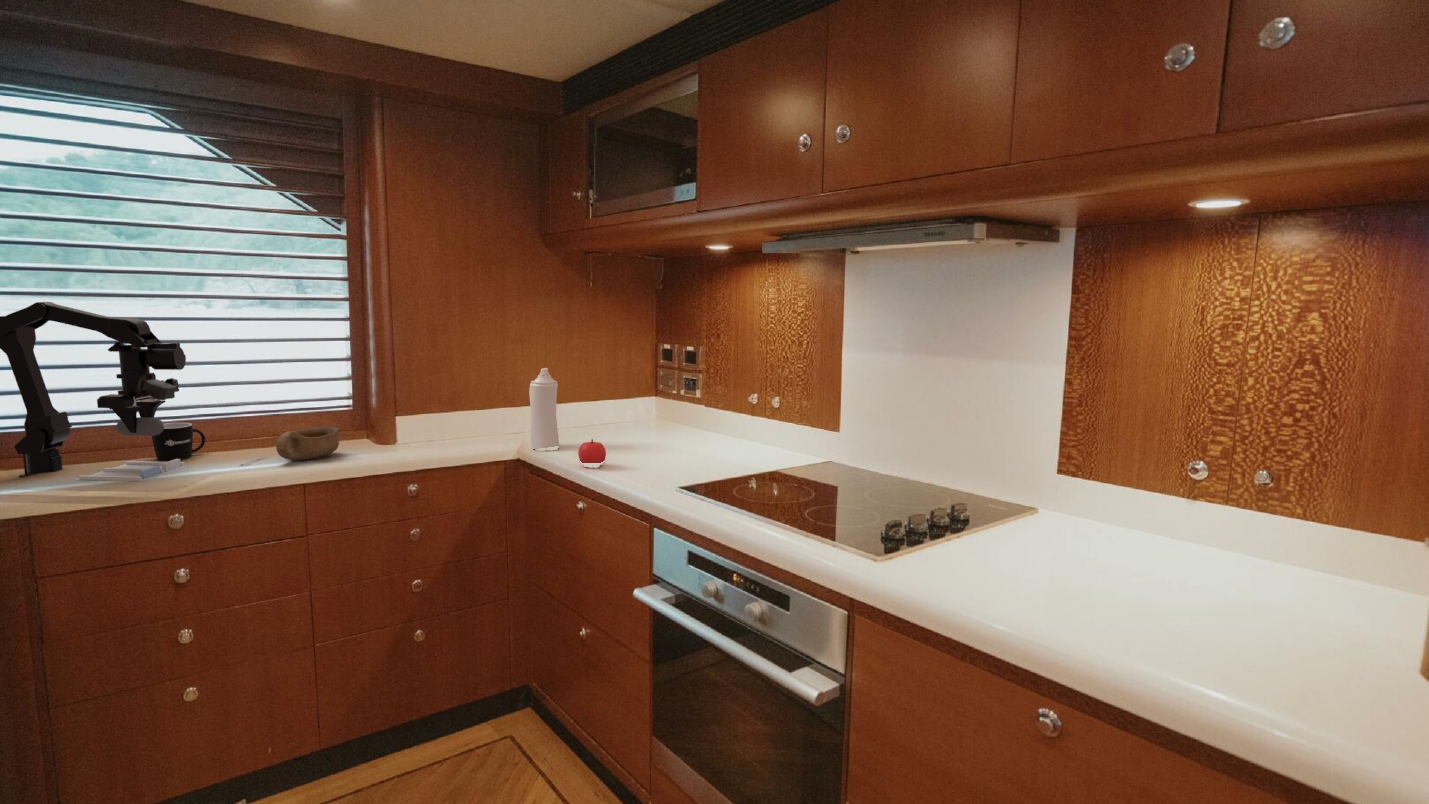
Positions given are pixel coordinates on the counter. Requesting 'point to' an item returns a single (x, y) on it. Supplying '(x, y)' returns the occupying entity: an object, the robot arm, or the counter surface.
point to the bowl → (308, 443)
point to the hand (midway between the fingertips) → (140, 431)
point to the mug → (175, 442)
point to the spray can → (543, 411)
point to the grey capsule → (143, 427)
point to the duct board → (135, 471)
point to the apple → (592, 452)
